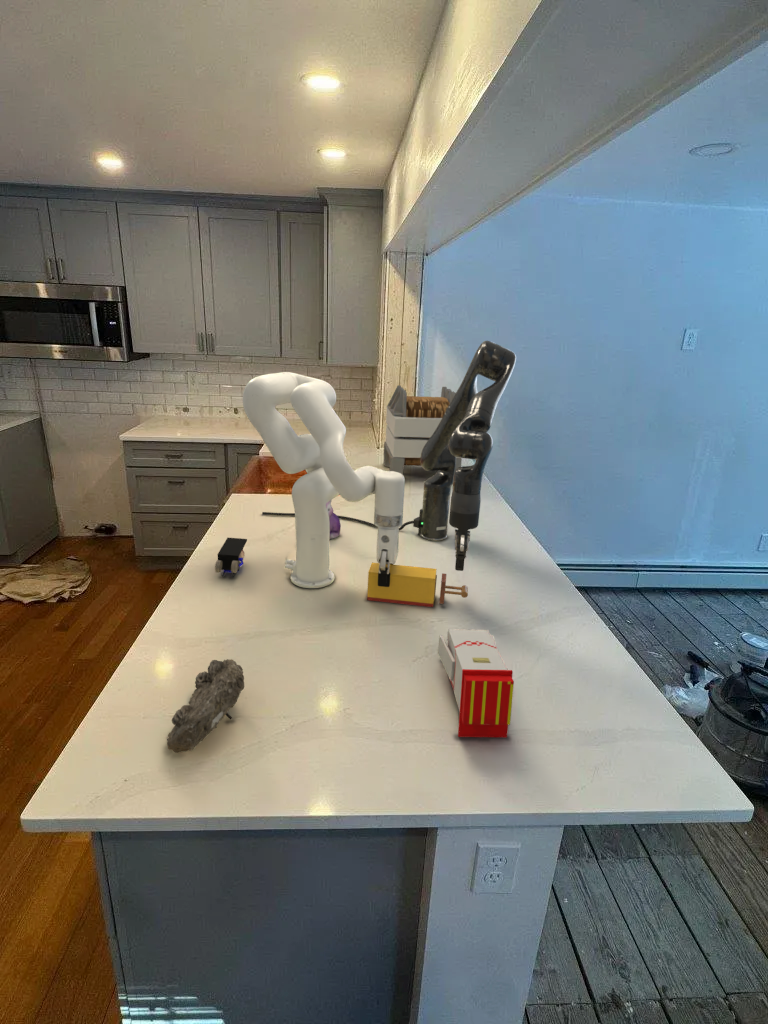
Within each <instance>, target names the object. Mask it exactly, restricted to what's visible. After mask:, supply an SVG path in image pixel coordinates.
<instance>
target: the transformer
mask: <svg viewBox="0 0 768 1024" xmlns="http://www.w3.org/2000/svg"><path fill="white" fill-rule="evenodd" d="M440 393H441V394H440V396H415V395H414V396H413V395H412V396H411V395H407V394H408V393H407V390H406V389H404V388H403V387H402V385H399V384H398V385H397V386H396V388H395V390H394V392H393V394H392V395H391V398H390V400H389V402H388V404H387V405H386V413H385V414H386V415H385V423H386V428H385V438H384V442H383V466H384V467H388V468H389V471H394V472H399V473H401V474H402V475H403V476H404V469H405V466H406V467H407V466H411V467H412V466H413V467H415V466H416V467H417V466H418V467H422V466H421V462H420V457H421V452H422V450H423V447H424V446H425V444H426V443H427V441H428V440H429V439H430V437H431V436H432V434H433V433H434V431H435V430H436V428H437V427H438V425H439V423H440V421H441V420H442V418H443V416H444V414H445V412H446V410H447V408H448V406H449V404H450V402H451V400H452V399H453V397H454V395H455V394H456V392H455V391H453V390H452V389H451V388H447V386H442V387H441V392H440ZM462 459H463V458H458V457H456V465H455V470H456V469H457V468H459V467H462V461H463V460H462ZM453 480H454V479H453Z"/></svg>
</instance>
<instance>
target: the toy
mask: <svg viewBox="0 0 768 1024" xmlns="http://www.w3.org/2000/svg"><path fill="white" fill-rule="evenodd" d="M446 640H447V643H446V641H445V639H444V636H443V635H442V634H439V637H438V646H437V656H438V657H439V659H440V661H441V663H442V666H443V668H444V670H445V672H446V674H447V677H448V679H449V681H450V684H451V687H452V690H453V693H454V697H455V701H456V705H457V708H458V711H459V714H458V715H459V716H458V730H457V731H458V732H457V737H458V738H508V731H509V726H510V725H511V717H512V707H513V697H514V696H513V695H514V684H515V680H514V679H513V673H514V671H513V670H512V669H508V667H507V665H506V662H505V661H504V659H503V658H502V655H501V653H500V651H499V649H498V647H497V643H496V639H495V637H494V635H493V634H491V632H490V631H489V629H467V628H466V629H465V628H463V629H461V628H460V629H459V628H448V630H447V639H446Z"/></svg>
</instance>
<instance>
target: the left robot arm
mask: <svg viewBox="0 0 768 1024" xmlns="http://www.w3.org/2000/svg"><path fill="white" fill-rule="evenodd" d="M336 403H337V393H336V391H335V388H334V387H333V386H332V385H331V384H330V383H329V382H327V381H325V380H324V379H319V378H315V377H311V376H307V375H303V374H300V373H296V372H291V371H290V372H289V371H282V372H273V373H266V374H261V375H257V376H255V377H253V378H252V379H250V380H249V381H248V382H247V383H246V385H245V387H244V389H243V392H242V406H243V411H244V413H245V415H246V418H247V419H248V421H249V422H250V423H251V425H252V426H253V428H254V429H255V431H256V432H257V433H258V434H259V436H260V437H261V439H262V441H263V442H264V444H265V446H266V447H267V449H268V450H269V452H270V454H271V456H272V457H273V459H274V460H275V462H276V465H278V467H279V468H280V469H281V471H282V472H284V473H285V474H289V475H294V474H298V473H300V472H303V471H305V472H306V473H305V474H303V475H302V476H300V477H299V478H298V479H296V481H295V482H294V483H293V486H292V488H291V499H292V504H293V509H294V513H295V516H294V526H295V527H294V528H295V529H294V530H295V560H293V559H288V558H287V559H285V561H284V569H286V570H291V571H292V572H291V574H290V581H291V583H292V584H294V585H295V586H297V587H299V588H303V589H320V588H324V587H327V586H329V585H331V584H332V583H333V582H334V581H335V573H334V571H332V570H331V569H330V522H329V515H328V512H327V509H326V503H327V502H329V501H330V500H332V501H333V499H336V498H337V497H338V496H340V497H341V498H342V499H343V500H345V501H347V502H350V503H357V502H360V501H362V500H364V499H365V498H368V497H369V496H372V495H374V507H373V509H374V513H373V514H374V515H373V524H374V525H375V526H377V527H378V528H377V527H376V528H377V537H376V538H377V539H376V563H379V572H378V586H382V587H389V586H390V573H389V570H390V564H393V565H396V562H397V558H398V556H399V549H400V548H399V543H400V531H399V528H400V527H401V526H402V525H403V520H404V503H405V501H404V500H405V486H406V479H405V476H404V474H403V475H402V474H401V473H399V472H394V471H390V470H384V469H381V468H379V467H376V466H372V465H363V466H360V467H358V468H356V469H353V467H352V466H351V464H350V463H349V461H348V459H347V457H346V454H345V451H344V450H345V449H344V443H345V442H344V441H345V438H346V434H347V428H346V425H345V424H344V423H343V422H342V419H341V418H340V417H339V415H338V414H337V412H336V411H335V410H334V407H335V406H336ZM285 404H291V407H292V409H293V410H294V412H295V413H296V414H297V416H298V417H299V418H300V421H301V422H302V423H303V425H304V426H305V428H306V429H307V430H308V432H309V433H302V434H297V433H296V431H295V430H294V429H293V427H292V425H291V422H289V420H288V419H287V418H286V417H285V415H283V414H282V413H281V412H279V411H278V410H277V408H276V407H277V406H281V405H285ZM386 564H388V567H386Z"/></svg>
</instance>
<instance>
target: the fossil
mask: <svg viewBox="0 0 768 1024" xmlns="http://www.w3.org/2000/svg"><path fill="white" fill-rule="evenodd" d="M243 670H244V669H243V667H242V665H240V664H237V662H236V661H235V660H234V659H232V658H231V659H227V658H226V659H224V660H223V661H222V660H217V659H212V660H211V661H210V663H209V665H208V666H207V671H201V672H199V673H198V674H197V675H196V676H195V680H194V684H195V685H194V687H195V689H194V690H193V693H192V694H191V697H190V698H189V700H188V704H184V705H182V706H181V707H180V709H177V710H176V711H175V713H174V715H173V716H172V718H171V723H172V724H173V727H172V730H171V731H170V732H168V734H167V738H166V741H167V742H166V745H167V749H168V750H169V751H173V752H174V753H176V754H178V753H182V752H188V751H189V752H192V751H193V750H195V748H196V747H197V746H199V744H200V743H201V742H203V741H204V740H205V739H206V738H207V737H208V736H209V735H210V734H211V733H212V732H214V730H215V729H217V727H218V726H219V724H220V722H221V721H222V720H223V719H224V718H225V716H226V717H227V719H229V720H233V717H232V715H230V714H229V710H230V709H231V708H234V706H235V704H236V703H237V702H238V699H239V697H240V695H241V693H242V691H243V690H245V689H244V688H245V675H244V671H243Z"/></svg>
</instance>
